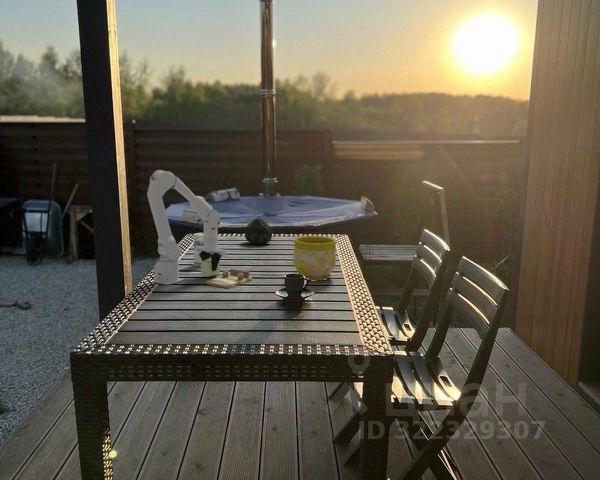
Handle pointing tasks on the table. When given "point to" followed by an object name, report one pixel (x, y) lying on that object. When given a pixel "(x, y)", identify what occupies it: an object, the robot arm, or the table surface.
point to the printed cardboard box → (198, 242)
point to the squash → (258, 232)
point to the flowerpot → (314, 256)
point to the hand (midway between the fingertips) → (210, 270)
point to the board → (230, 278)
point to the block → (208, 268)
